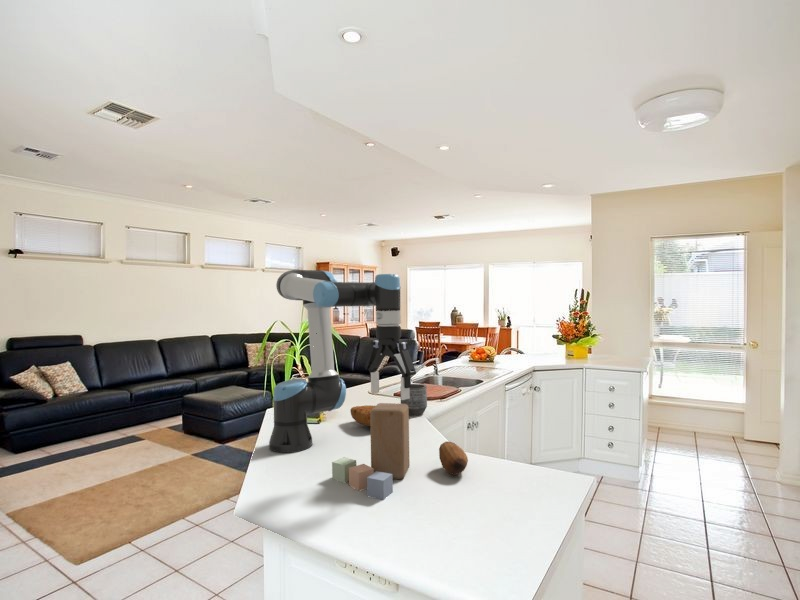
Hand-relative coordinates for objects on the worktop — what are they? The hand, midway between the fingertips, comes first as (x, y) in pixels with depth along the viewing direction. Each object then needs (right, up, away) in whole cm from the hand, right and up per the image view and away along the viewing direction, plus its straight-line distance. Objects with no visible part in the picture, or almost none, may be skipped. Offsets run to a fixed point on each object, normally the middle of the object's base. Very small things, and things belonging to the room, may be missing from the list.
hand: (389, 396), depth 134 cm
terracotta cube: (-8, -23, -9) cm, 26 cm away
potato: (+19, -23, 0) cm, 30 cm away
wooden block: (0, -23, 0) cm, 23 cm away
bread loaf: (-7, -24, +53) cm, 59 cm away
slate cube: (-2, -23, -15) cm, 28 cm away
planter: (+10, -24, +72) cm, 76 cm away
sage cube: (-13, -23, -3) cm, 27 cm away
